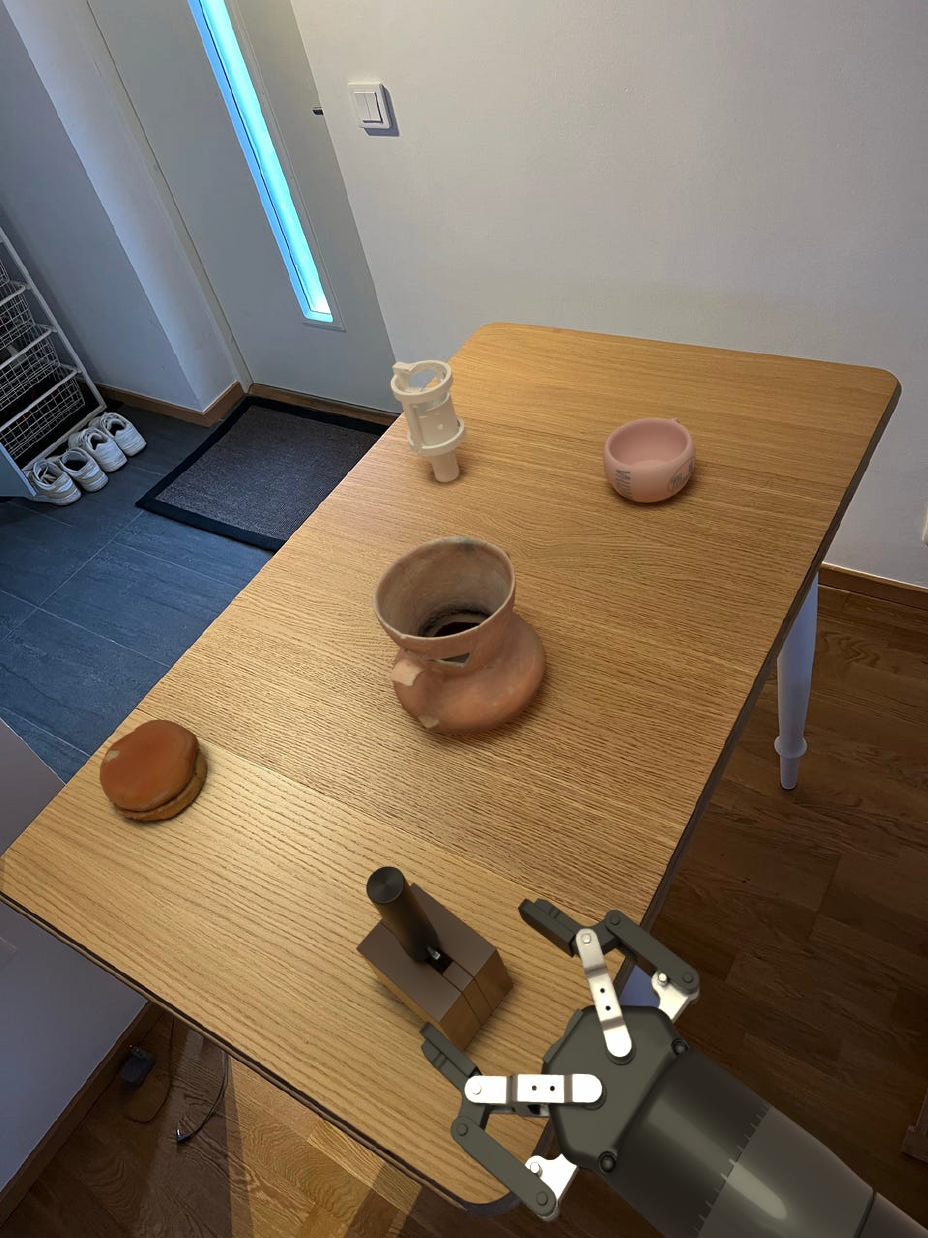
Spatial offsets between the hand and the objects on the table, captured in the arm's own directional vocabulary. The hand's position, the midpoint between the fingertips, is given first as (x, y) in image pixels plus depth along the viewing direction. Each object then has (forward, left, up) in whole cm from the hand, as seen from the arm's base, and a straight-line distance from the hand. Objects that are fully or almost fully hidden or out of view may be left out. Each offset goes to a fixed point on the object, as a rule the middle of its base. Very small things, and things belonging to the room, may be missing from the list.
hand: (476, 967), depth 47 cm
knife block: (+2, +7, -15) cm, 16 cm away
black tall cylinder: (+2, +7, -15) cm, 16 cm away
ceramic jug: (+28, +18, -15) cm, 36 cm away
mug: (+61, +12, -15) cm, 64 cm away
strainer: (+56, +37, -15) cm, 68 cm away
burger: (+7, +42, -15) cm, 45 cm away
